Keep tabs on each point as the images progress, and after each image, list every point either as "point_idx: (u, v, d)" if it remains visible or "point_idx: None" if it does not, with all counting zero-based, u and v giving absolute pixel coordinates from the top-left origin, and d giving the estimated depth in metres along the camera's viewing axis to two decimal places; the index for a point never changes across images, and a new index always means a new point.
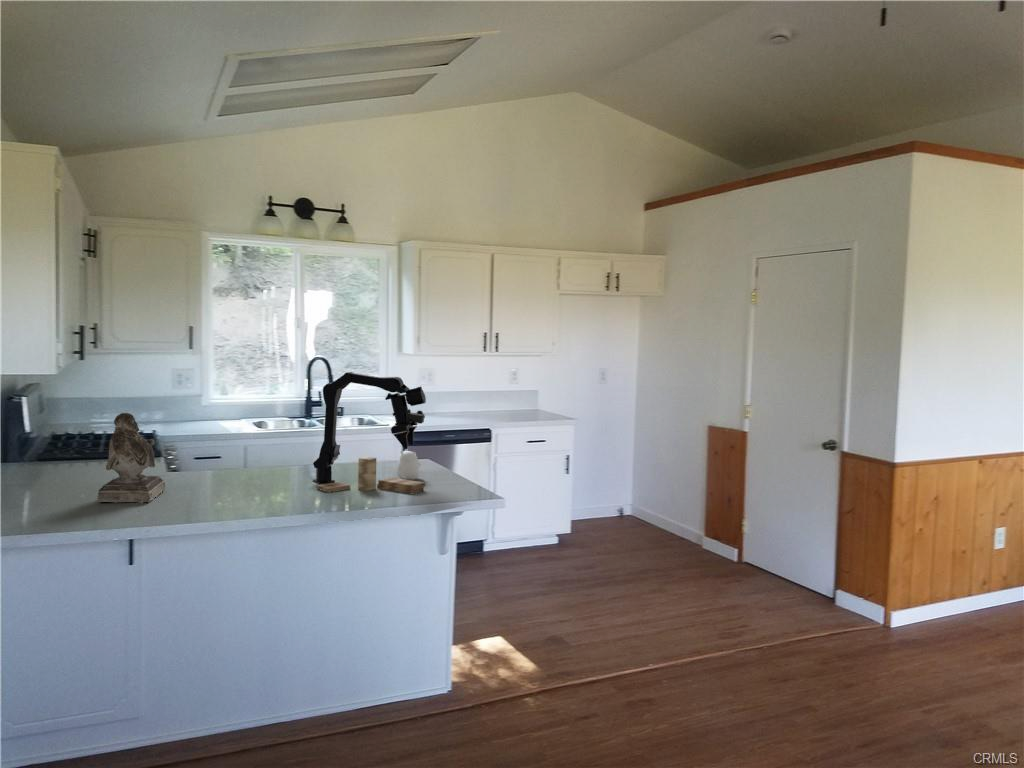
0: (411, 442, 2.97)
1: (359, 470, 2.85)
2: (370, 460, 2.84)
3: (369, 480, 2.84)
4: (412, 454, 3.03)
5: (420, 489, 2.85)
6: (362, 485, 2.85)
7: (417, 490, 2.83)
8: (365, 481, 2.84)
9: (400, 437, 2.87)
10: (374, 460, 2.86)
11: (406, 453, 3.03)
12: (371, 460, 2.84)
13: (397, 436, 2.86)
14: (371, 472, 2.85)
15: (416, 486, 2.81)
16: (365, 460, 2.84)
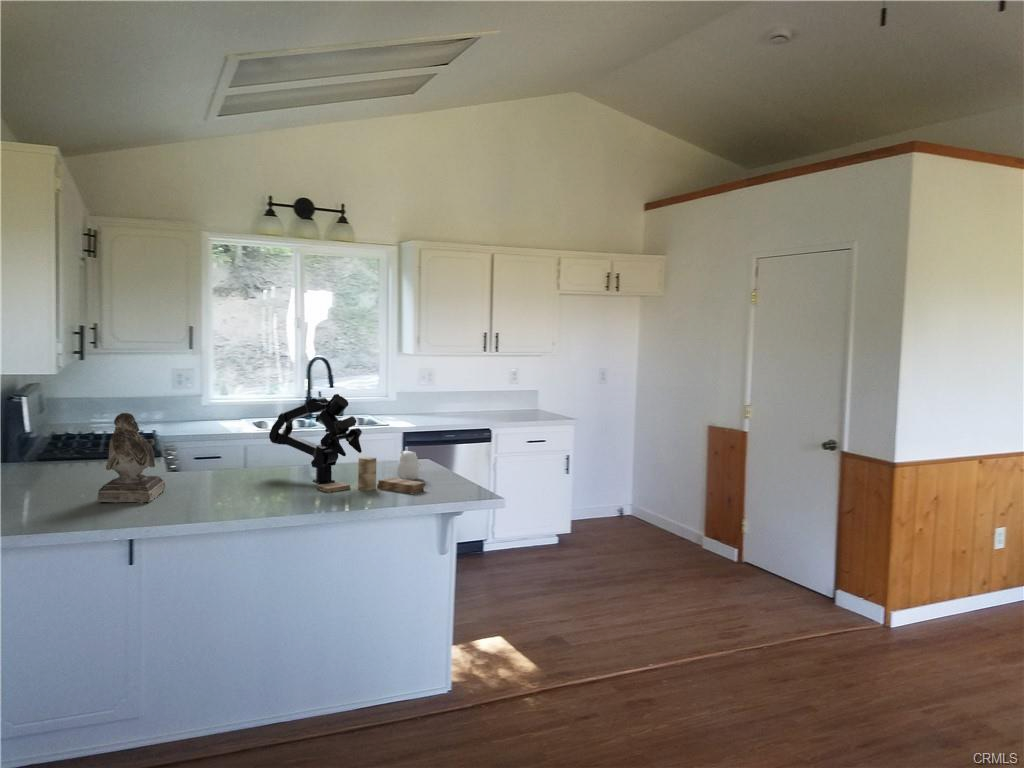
0: (358, 450, 2.94)
1: (359, 470, 2.85)
2: (370, 460, 2.84)
3: (369, 480, 2.84)
4: (412, 454, 3.03)
5: (420, 489, 2.85)
6: (362, 485, 2.85)
7: (417, 490, 2.83)
8: (365, 481, 2.84)
9: (334, 447, 2.86)
10: (374, 460, 2.86)
11: (406, 453, 3.03)
12: (371, 460, 2.84)
13: (331, 447, 2.86)
14: (371, 472, 2.85)
15: (416, 486, 2.81)
16: (365, 460, 2.84)
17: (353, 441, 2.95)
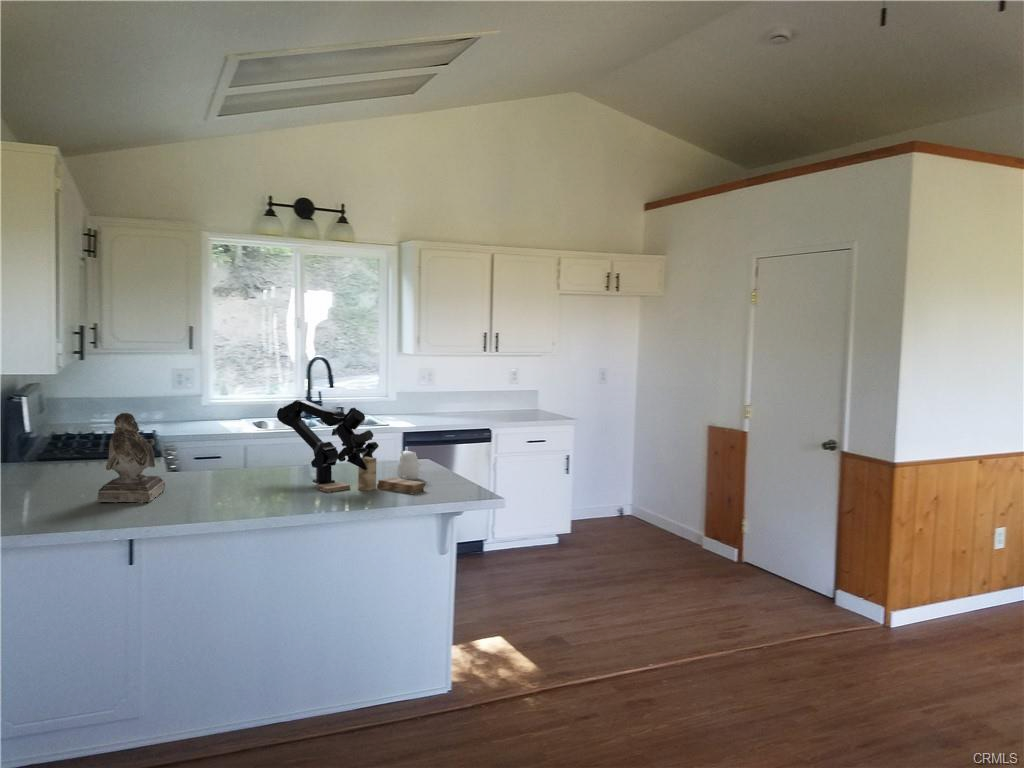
0: None
1: (359, 470, 2.85)
2: (370, 460, 2.84)
3: (369, 479, 2.84)
4: (412, 454, 3.03)
5: (420, 489, 2.85)
6: (362, 485, 2.85)
7: (417, 490, 2.83)
8: (365, 480, 2.84)
9: (355, 461, 2.84)
10: (374, 460, 2.86)
11: (406, 453, 3.03)
12: (371, 460, 2.84)
13: (352, 461, 2.84)
14: (371, 472, 2.85)
15: (416, 486, 2.81)
16: (365, 460, 2.84)
17: (366, 456, 2.90)
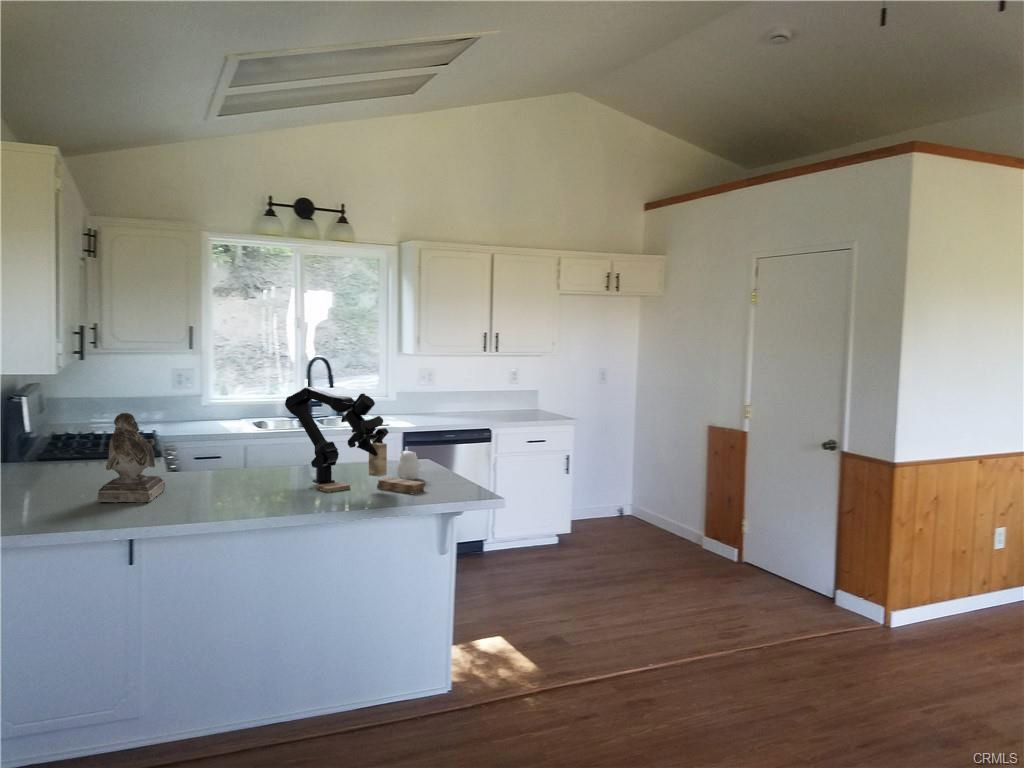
0: None
1: (369, 456, 2.83)
2: (380, 446, 2.81)
3: (380, 465, 2.81)
4: (412, 454, 3.03)
5: (420, 489, 2.85)
6: (373, 471, 2.82)
7: (417, 490, 2.83)
8: (376, 466, 2.81)
9: (365, 447, 2.81)
10: (384, 446, 2.83)
11: (406, 453, 3.03)
12: (381, 446, 2.82)
13: (362, 447, 2.81)
14: (382, 458, 2.82)
15: (416, 486, 2.81)
16: (375, 446, 2.81)
17: (376, 442, 2.87)
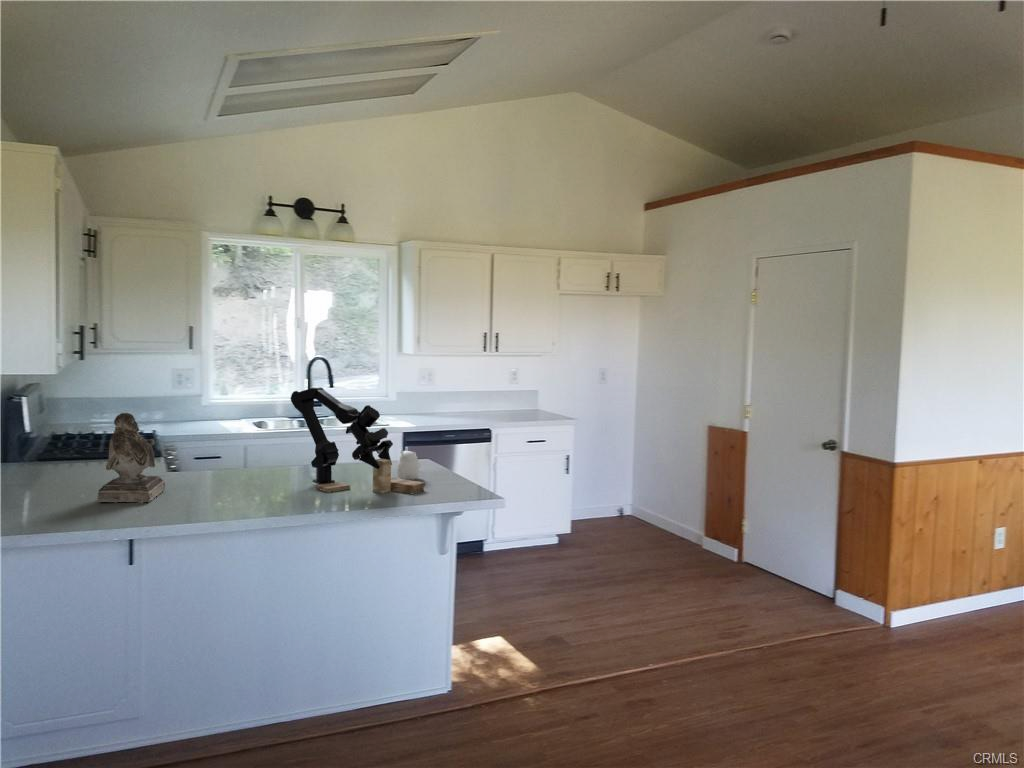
0: None
1: (374, 472, 2.82)
2: (385, 462, 2.81)
3: (384, 482, 2.81)
4: (412, 454, 3.03)
5: (420, 489, 2.85)
6: (377, 487, 2.82)
7: (417, 490, 2.83)
8: (380, 483, 2.81)
9: (367, 459, 2.80)
10: (389, 462, 2.83)
11: (406, 453, 3.03)
12: (386, 462, 2.81)
13: (364, 460, 2.80)
14: (386, 474, 2.82)
15: (416, 486, 2.81)
16: (380, 462, 2.80)
17: (383, 454, 2.88)
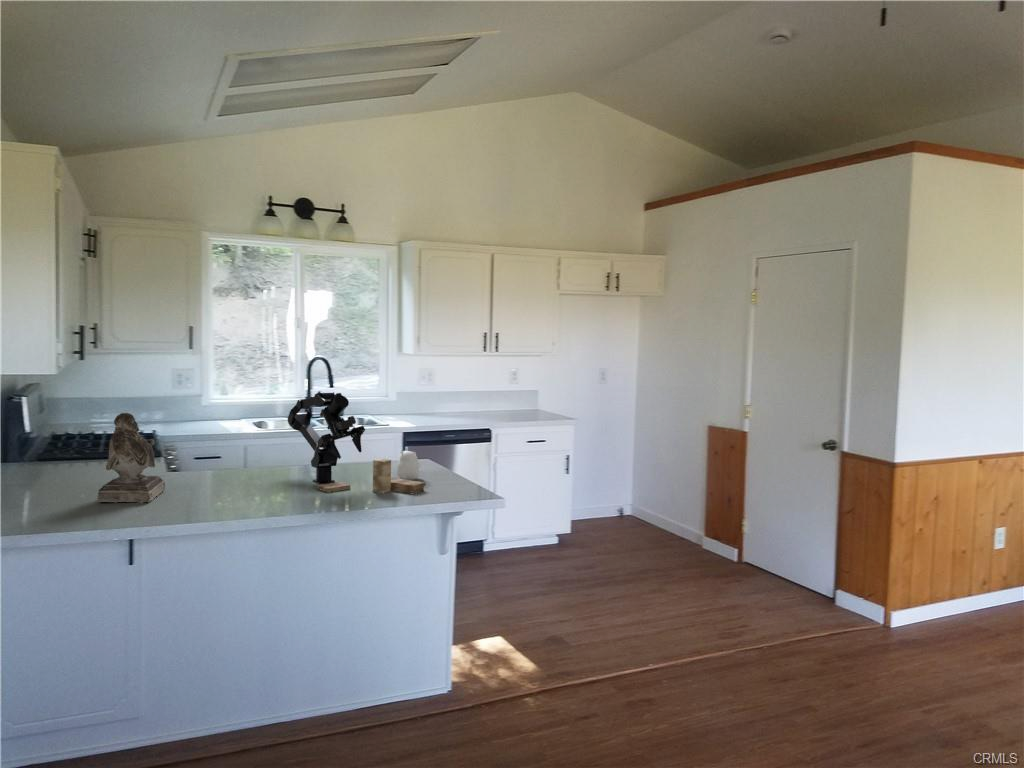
0: (359, 449, 2.90)
1: (374, 472, 2.82)
2: (385, 462, 2.81)
3: (384, 482, 2.81)
4: (412, 454, 3.03)
5: (420, 489, 2.85)
6: (377, 487, 2.82)
7: (417, 490, 2.83)
8: (380, 483, 2.81)
9: (330, 448, 2.85)
10: (389, 462, 2.83)
11: (406, 453, 3.03)
12: (386, 462, 2.81)
13: (328, 448, 2.85)
14: (386, 474, 2.82)
15: (416, 486, 2.81)
16: (380, 462, 2.80)
17: (355, 439, 2.92)
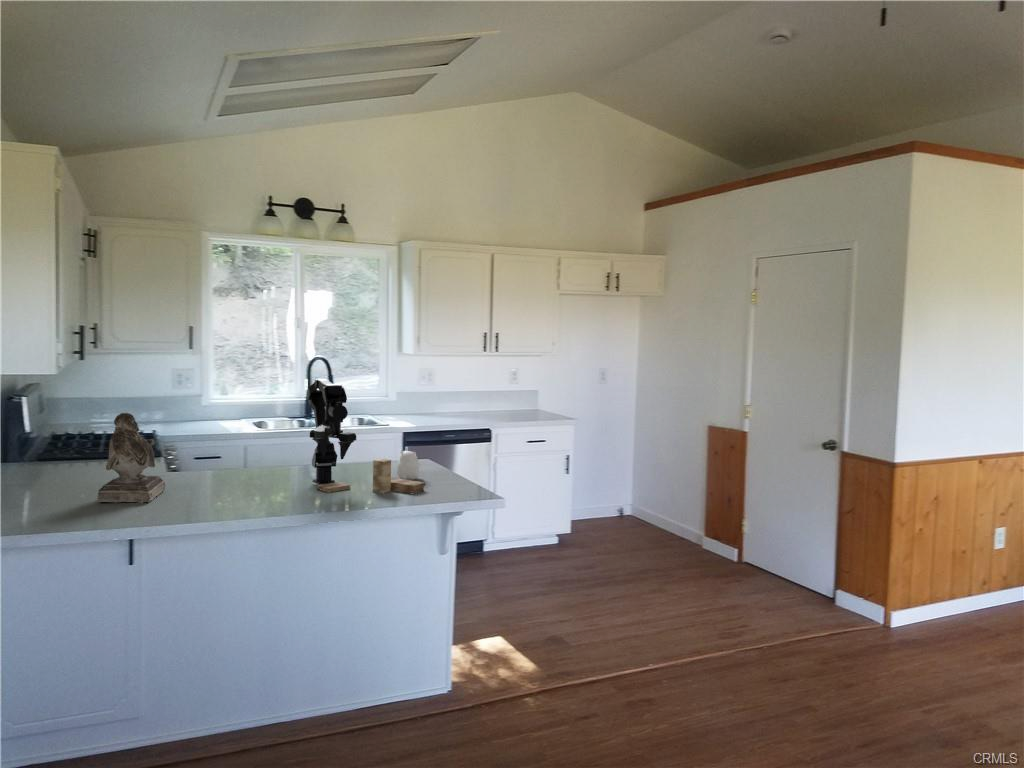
0: None
1: (374, 472, 2.82)
2: (385, 462, 2.81)
3: (384, 482, 2.81)
4: (412, 454, 3.03)
5: (420, 489, 2.85)
6: (377, 487, 2.82)
7: (417, 490, 2.83)
8: (380, 483, 2.81)
9: None
10: (389, 462, 2.83)
11: (406, 453, 3.03)
12: (386, 462, 2.81)
13: None
14: (386, 474, 2.82)
15: (416, 486, 2.81)
16: (380, 462, 2.80)
17: None
